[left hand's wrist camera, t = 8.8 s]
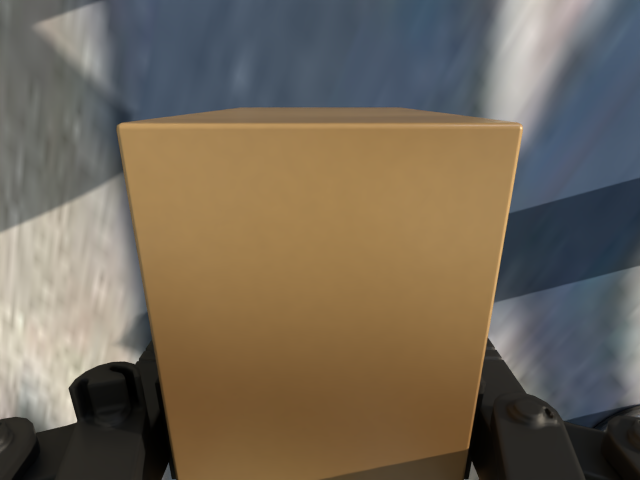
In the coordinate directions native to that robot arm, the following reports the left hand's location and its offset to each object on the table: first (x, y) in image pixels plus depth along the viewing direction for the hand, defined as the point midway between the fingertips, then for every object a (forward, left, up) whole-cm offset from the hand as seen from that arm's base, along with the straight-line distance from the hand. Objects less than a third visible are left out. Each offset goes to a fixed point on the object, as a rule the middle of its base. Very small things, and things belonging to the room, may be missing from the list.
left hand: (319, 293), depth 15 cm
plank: (+24, +11, -1) cm, 26 cm away
